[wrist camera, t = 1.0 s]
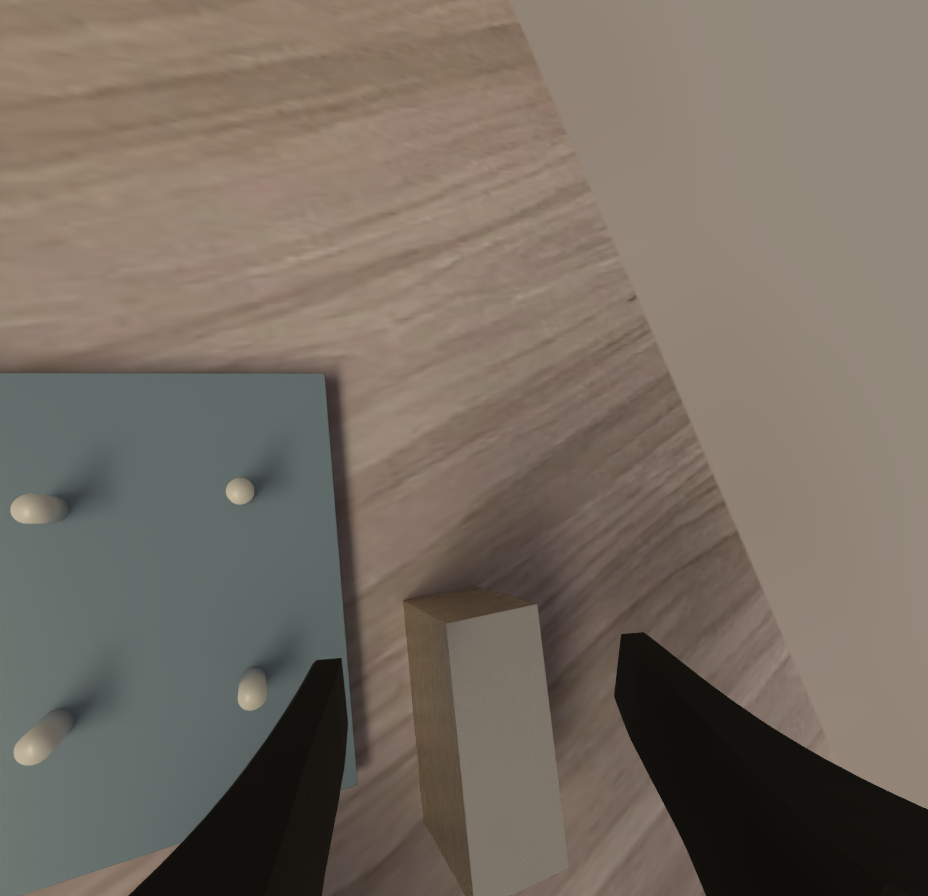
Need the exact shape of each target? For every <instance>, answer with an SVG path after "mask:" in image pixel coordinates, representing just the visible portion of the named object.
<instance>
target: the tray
mask: <svg viewBox="0 0 928 896" xmlns="http://www.w3.org/2000/svg"><path fill="white" fill-rule="evenodd" d="M334 658H342V666H343V676H344V686H345V695H346V705H347V715H348V732H347V745H346V757H345V767H344V773H343V779H342V784H341V790H343V789H346V788H349V787H352V786H355V785H357V774H356V762H355V749H354V737H353V724H352V712H351V699H350V687H349V675H348V662H347V650H346V637H345V625H344V612H343V600H342V587H341V575H340V562H339V550H338V537H337V525H336V512H335V500H334V487H333V475H332V462H331V450H330V438H329V425H328V413H327V400H326V388H325V375H324V374H211V373H0V896H21V895H24V894H27V893H31V892H34V891H37V890H40V889H43V888H46V887H49V886H52V885H55V884H58V883H61V882H64V881H67V880H70V879H73V878H76V877H79V876H82V875H85V874H88V873H91V872H94V871H97V870H100V869H103V868H106V867H109V866H112V865H115V864H118V863H121V862H125V861H128V860H131V859H134V858H137V857H140V856H143V855H146V854H149V853H152V852H155V851H158V850H161V849H164V848H167V847H170V846H173V845H176V844H179V843H182V842H183V841H184V840H185V838H186V837H187V836H188V835H189V834H190V833H191V832H192V831H193V830H194V829H195V827H196V826H197V825H198V824H199V823H200V822H201V821H202V820H203V819H204V818H205V816H206V815H207V814H208V813H209V812H210V811H211V810H212V808H213V807H214V806H215V805H216V804H217V802H218V801H219V800H220V799H221V798H222V797H223V795H224V794H225V793H226V792H227V790H228V789H229V788H230V787H231V786H232V784H233V783H234V782H235V780H236V779H237V778H238V777H239V775H240V774H241V773H242V771H243V770H244V769H245V768H246V766H247V765H248V763H249V762H250V761H251V759H252V758H253V757H254V755H255V754H256V752H257V751H258V750H259V748H260V747H261V746H262V744H263V743H264V741H265V740H266V739H267V737H268V736H269V734H270V733H271V731H272V730H273V728H274V727H275V725H276V724H277V722H278V721H279V719H280V718H281V716H282V715H283V713H284V712H285V710H286V709H287V707H288V705H289V704H290V702H291V700H292V699H293V697H294V696H295V694H296V692H297V691H298V689H299V687H300V686H301V684H302V682H303V680H304V678H305V677H306V675H307V673H308V671H309V669H310V668H311V666H312V664H313V663H314V662H315V661H316V660H322V659H334Z"/></svg>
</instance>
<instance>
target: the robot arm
mask: <svg viewBox="0 0 928 896" xmlns="http://www.w3.org/2000/svg"><path fill="white" fill-rule="evenodd" d="M614 697H615V700H616V703H617V705H618V708H619V711H620V714H621V716H622V719H623V722H624V724H625V727H626V729H627V732H628V734H629V737H630V739H631V741H632V743H633V745H634V747H635V749H636V751H637V753H638V755H639V756H640V758H641V760H642V762H643V764H644V766H645V768H646V770H647V772H648V774H649V776H650V778H651V780H652V782H653V784H654V786H655V787H656V789H657V791H658V793H659V795H660V797H661V799H662V801H663V803H664V805H665V807H666V809H667V811H668V812H669V814H670V816H671V818H672V820H673V822H674V824H675V826H676V828H677V830H678V832H679V834H680V836H681V838H682V840H683V842H684V845H685V847H686V849H687V851H688V853H689V856H690V858H691V860H692V863H693V865H694V868H695V870H696V872H697V875H698V877H699V880H700V882H701V884H702V887H703V889H704V892H705V894H706V896H928V809H926V808H923V807H921V806H918V805H916V804H914V803H912V802H910V801H908V800H906V799H904V798H901V797H899V796H897V795H895V794H893V793H891V792H889V791H886V790H884V789H882V788H880V787H878V786H876V785H874V784H872V783H870V782H868V781H866V780H864V779H862V778H860V777H858V776H856V775H854V774H852V773H850V772H849V771H847V770H845V769H843V768H841V767H839V766H837V765H835V764H834V763H832V762H830V761H828V760H826V759H824V758H822V757H821V756H819V755H817V754H815V753H814V752H812V751H810V750H808V749H807V748H805V747H803V746H801V745H800V744H798V743H797V742H795V741H793V740H792V739H790V738H788V737H787V736H785V735H783V734H782V733H780V732H778V731H777V730H775V729H774V728H772V727H771V726H769V725H767V724H766V723H764V722H763V721H761V720H760V719H758V718H757V717H755V716H754V715H752V714H751V713H750V712H748V711H747V710H745V709H744V708H742V707H741V706H739V705H738V704H737V703H735V702H734V701H732V700H731V699H730V698H728V697H727V696H725V695H724V694H723V693H721V692H720V691H719V690H717V689H716V688H715V687H713V686H712V685H711V684H709V683H708V682H707V681H705V680H704V679H703V678H701V677H700V676H699V675H697V674H696V673H695V672H694V671H692V670H691V669H690V668H688V667H687V666H686V665H685V664H683V663H682V662H681V661H680V660H678V659H677V658H676V657H675V656H673V655H672V654H671V653H670V652H668V651H667V650H666V649H664V648H663V647H662V646H661V645H659V644H658V643H657V642H656V641H654V640H653V639H652V638H650V637H649V636H648V635H646V634H645V633H644V632H641V633H629V634H621V641H620V650H619V658H618V667H617V676H616V684H615V693H614ZM347 732H348V715H347V705H346V695H345V686H344V676H343V666H342V658H334V659H322V660H316V661H315V662H314V663H313V664H312V666H311V668H310V669H309V671H308V673H307V675H306V677H305V678H304V680H303V682H302V684H301V686H300V687H299V689H298V691H297V692H296V694H295V696H294V697H293V699H292V700H291V702H290V704H289V705H288V707H287V709H286V710H285V712H284V713H283V715H282V716H281V718H280V719H279V721H278V722H277V724H276V725H275V727H274V728H273V730H272V731H271V733H270V734H269V736H268V737H267V739H266V740H265V741H264V743H263V744H262V746H261V747H260V748H259V750H258V751H257V752H256V754H255V755H254V757H253V758H252V759H251V761H250V762H249V763H248V765H247V766H246V768H245V769H244V770H243V771H242V773H241V774H240V775H239V777H238V778H237V779H236V780H235V782H234V783H233V784H232V786H231V787H230V788H229V789H228V790H227V792H226V793H225V794H224V795H223V797H222V798H221V799H220V800H219V801H218V802H217V804H216V805H215V806H214V807H213V808H212V810H211V811H210V812H209V813H208V814H207V815H206V816H205V818H204V819H203V820H202V821H201V822H200V823H199V824H198V825H197V826H196V827H195V829H194V830H193V831H192V832H191V833H190V834H189V835H188V836H187V837H186V838H185V840H184V841H183V842H182V843H181V844H180V845H179V846H178V847H177V848H176V849H175V850H174V851H173V852H172V853H171V854H170V855H169V857H168V858H167V859H166V860H165V861H164V862H163V863H162V864H161V865H160V866H159V867H158V868H157V869H156V870H154V871H153V872H152V873H151V874H150V875H149V876H148V877H147V878H146V879H145V880H144V881H143V882H142V883H141V884H140V885H139V886H138V887H137V888H136V889H135V890H134V891H133V892H132V893H131V894H130V895H129V896H322V890H323V883H324V876H325V871H326V865H327V860H328V855H329V849H330V844H331V838H332V833H333V828H334V822H335V817H336V812H337V806H338V801H339V795H340V790H341V784H342V779H343V773H344V767H345V757H346V745H347Z"/></svg>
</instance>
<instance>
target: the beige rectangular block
mask: <svg viewBox="0 0 928 896" xmlns="http://www.w3.org/2000/svg"><path fill="white" fill-rule="evenodd" d="M403 606H404V617H405V628H406V639H407V650H408V661H409V671H410V682H411V693H412V704H413V715H414V725H415V736H416V747H417V758H418V769H419V779H420V790H421V801H422V812H423V821H424V823H425V825H426V826H427V828H428V830H429V832H430V834H431V835H432V837H433V839H434V841H435V842H436V844H437V846H438V848H439V850H440V851H441V853H442V855H443V857H444V858H445V860H446V862H447V864H448V865H449V867H450V869H451V871H452V873H453V874H454V876H455V878H456V880H457V881H458V883H459V885H460V887H461V889H462V890H463V892H464V894H465V896H511V895H513V894H516V893H518V892H520V891H522V890H524V889H526V888H528V887H530V886H532V885H534V884H536V883H538V882H541V881H543V880H545V879H547V878H549V877H551V876H553V875H555V874H557V873H559V872H561V871H564V870H566V869H568V868H569V865H568V857H567V848H566V840H565V832H564V823H563V815H562V807H561V798H560V790H559V782H558V773H557V765H556V757H555V748H554V740H553V732H552V723H551V715H550V707H549V698H548V690H547V682H546V673H545V665H544V657H543V648H542V640H541V632H540V623H539V615H538V607H537V604H535V603H532V602H528V601H525V600H521V599H518V598H515V597H511V596H508V595H504V594H501V593H497V592H494V591H491V590H487V589H484V588H480V587H474V588H468V589H463V590H458V591H452V592H447V593H442V594H436V595H431V596H426V597H420V598H415V599H410V600H404V601H403Z"/></svg>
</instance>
